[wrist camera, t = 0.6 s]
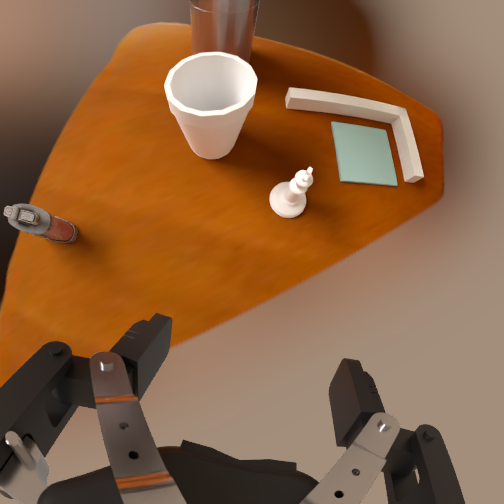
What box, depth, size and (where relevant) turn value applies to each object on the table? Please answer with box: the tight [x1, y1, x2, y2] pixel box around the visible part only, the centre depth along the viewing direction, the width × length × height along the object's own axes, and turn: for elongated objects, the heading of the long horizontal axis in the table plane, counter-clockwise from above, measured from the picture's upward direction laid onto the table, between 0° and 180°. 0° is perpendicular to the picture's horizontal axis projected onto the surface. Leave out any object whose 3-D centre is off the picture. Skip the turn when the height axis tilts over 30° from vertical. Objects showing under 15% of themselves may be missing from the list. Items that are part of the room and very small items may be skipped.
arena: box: [285, 87, 424, 186], centre depth 38 cm, size 14×21×3 cm, turn 92°
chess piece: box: [270, 166, 313, 218], centre depth 33 cm, size 5×5×10 cm
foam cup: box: [164, 52, 257, 160], centre depth 31 cm, size 10×9×13 cm
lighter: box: [4, 204, 77, 243], centre depth 29 cm, size 8×3×10 cm, turn 78°
